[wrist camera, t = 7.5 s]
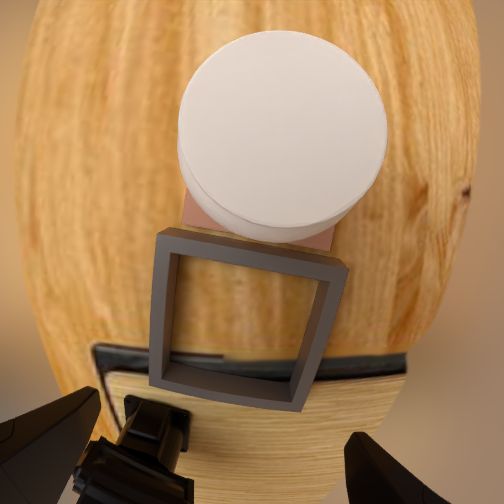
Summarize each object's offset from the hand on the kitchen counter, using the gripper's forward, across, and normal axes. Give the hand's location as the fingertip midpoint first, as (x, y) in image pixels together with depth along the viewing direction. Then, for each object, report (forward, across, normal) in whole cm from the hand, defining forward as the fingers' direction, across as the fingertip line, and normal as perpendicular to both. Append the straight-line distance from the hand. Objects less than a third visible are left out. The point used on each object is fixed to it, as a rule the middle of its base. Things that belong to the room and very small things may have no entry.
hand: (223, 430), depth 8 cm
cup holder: (+13, 0, +2) cm, 13 cm away
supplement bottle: (+12, 0, -9) cm, 15 cm away
